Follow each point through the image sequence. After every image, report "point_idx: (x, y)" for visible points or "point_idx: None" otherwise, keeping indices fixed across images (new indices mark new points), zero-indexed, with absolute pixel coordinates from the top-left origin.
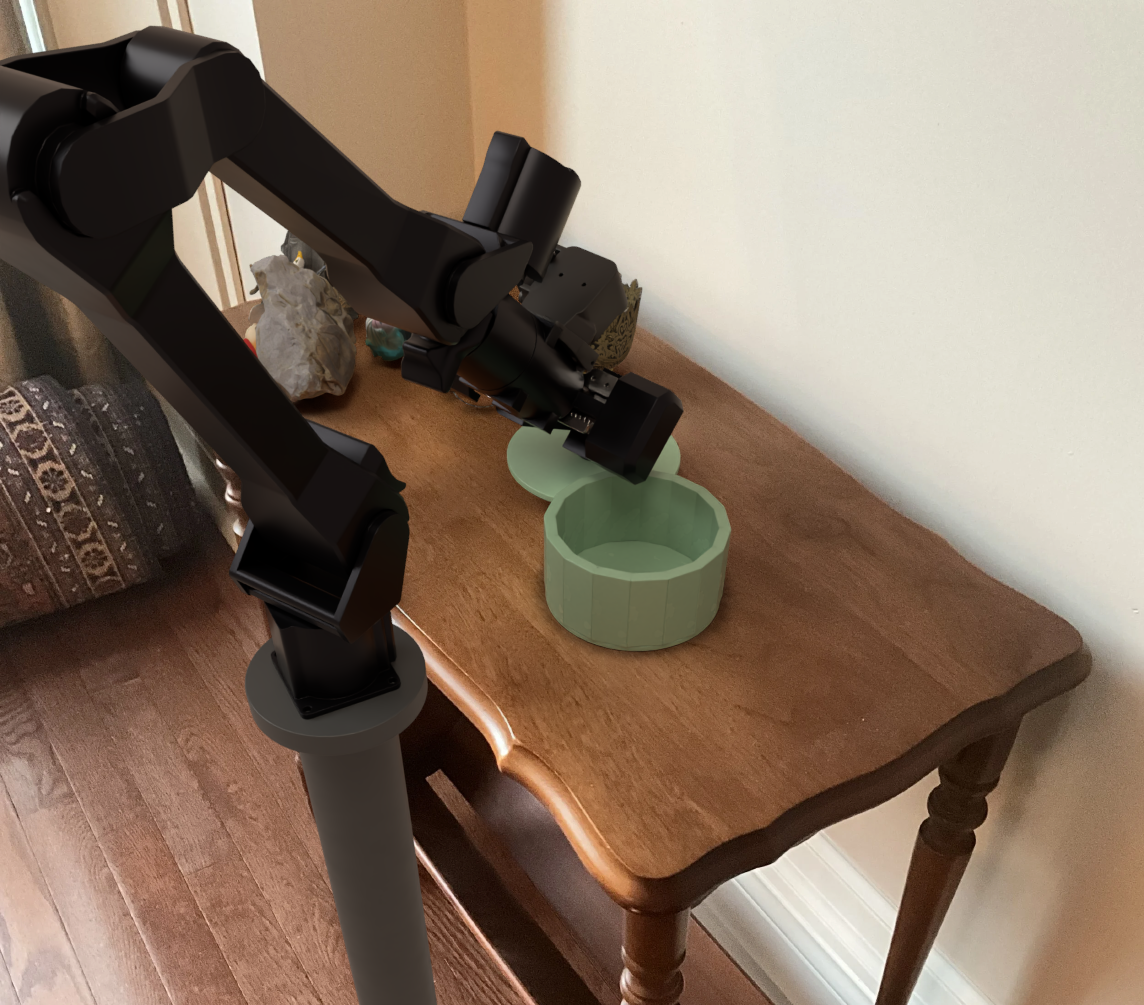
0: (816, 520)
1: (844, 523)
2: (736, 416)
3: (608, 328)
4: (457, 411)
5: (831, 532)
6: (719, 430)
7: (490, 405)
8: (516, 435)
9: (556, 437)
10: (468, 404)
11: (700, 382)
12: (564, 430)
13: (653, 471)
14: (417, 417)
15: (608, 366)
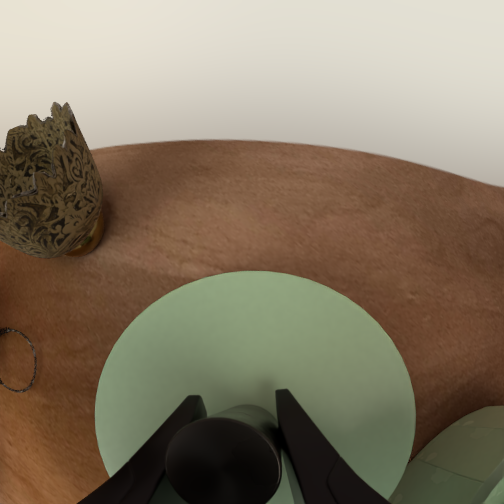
0: (483, 238)
1: (492, 222)
2: (271, 159)
3: (58, 189)
4: (21, 405)
5: (500, 242)
6: (281, 190)
7: (33, 376)
8: (112, 475)
9: None
10: (20, 392)
11: (188, 148)
12: (152, 416)
13: (500, 467)
14: (10, 439)
15: (94, 222)
